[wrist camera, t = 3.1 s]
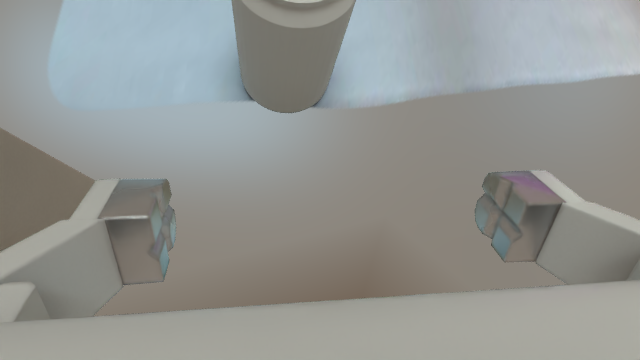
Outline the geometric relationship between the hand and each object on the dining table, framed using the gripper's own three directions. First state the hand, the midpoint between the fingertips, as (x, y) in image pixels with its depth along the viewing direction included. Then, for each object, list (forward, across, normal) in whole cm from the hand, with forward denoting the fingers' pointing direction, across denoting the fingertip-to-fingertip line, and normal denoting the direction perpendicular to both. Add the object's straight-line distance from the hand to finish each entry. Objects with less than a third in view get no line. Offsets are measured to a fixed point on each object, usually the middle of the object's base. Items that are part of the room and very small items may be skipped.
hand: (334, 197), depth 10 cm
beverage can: (+21, 0, +3) cm, 21 cm away
